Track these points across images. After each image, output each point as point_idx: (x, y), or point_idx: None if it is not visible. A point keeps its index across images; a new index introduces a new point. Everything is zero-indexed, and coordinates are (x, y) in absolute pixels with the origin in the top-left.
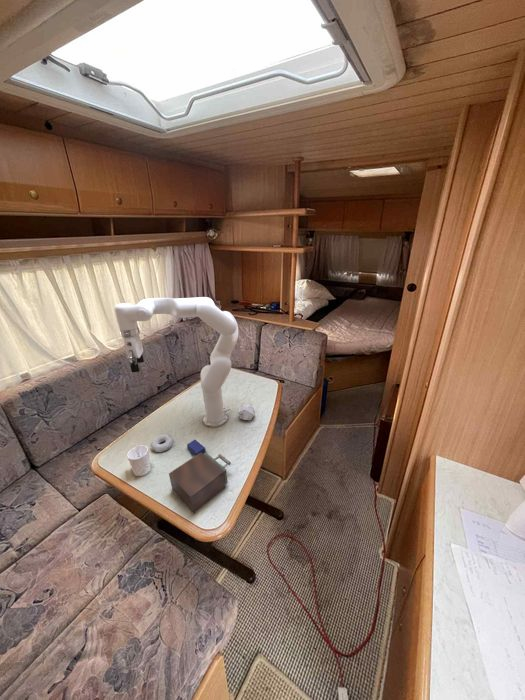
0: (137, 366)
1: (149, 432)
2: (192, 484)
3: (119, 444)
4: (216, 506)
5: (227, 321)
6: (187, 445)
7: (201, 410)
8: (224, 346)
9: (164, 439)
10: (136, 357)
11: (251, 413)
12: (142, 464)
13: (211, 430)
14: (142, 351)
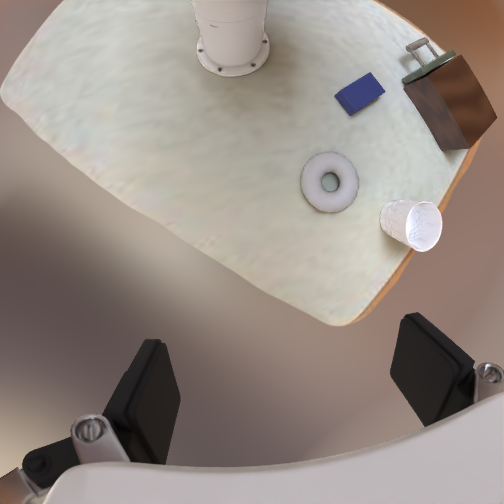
0: (450, 347)
1: (262, 233)
2: (484, 109)
3: (298, 301)
4: None
5: None
6: (356, 111)
7: (175, 90)
8: None
9: (322, 176)
10: None
11: None
12: (426, 212)
13: (282, 57)
14: (214, 494)
